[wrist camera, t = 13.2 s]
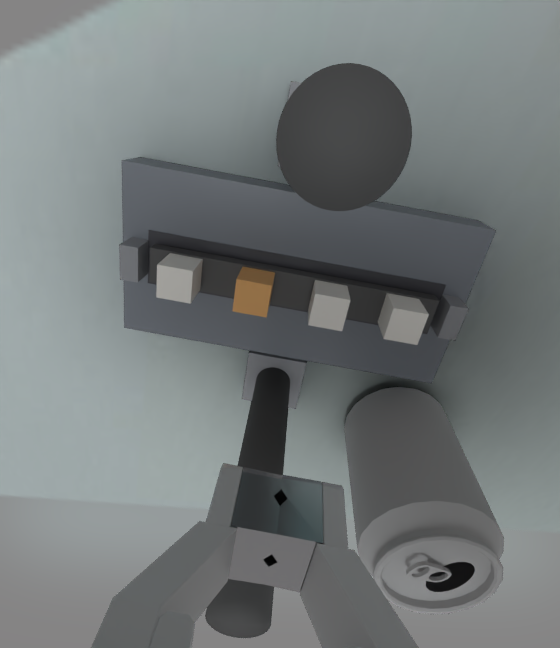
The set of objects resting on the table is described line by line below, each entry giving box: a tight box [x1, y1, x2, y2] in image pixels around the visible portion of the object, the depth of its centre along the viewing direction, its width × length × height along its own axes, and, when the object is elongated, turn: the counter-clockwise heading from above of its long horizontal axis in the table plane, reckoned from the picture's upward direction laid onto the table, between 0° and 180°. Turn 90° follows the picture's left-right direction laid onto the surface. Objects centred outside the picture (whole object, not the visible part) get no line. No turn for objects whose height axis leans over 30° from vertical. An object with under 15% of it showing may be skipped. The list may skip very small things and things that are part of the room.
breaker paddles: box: [149, 244, 439, 345], centre depth 21 cm, size 16×2×3 cm, turn 81°
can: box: [344, 387, 504, 614], centre depth 25 cm, size 8×8×12 cm
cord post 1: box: [205, 351, 307, 638], centre depth 22 cm, size 4×4×16 cm
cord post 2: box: [276, 63, 412, 211], centre depth 14 cm, size 4×4×16 cm
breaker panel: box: [119, 157, 496, 383], centre depth 23 cm, size 20×10×4 cm, turn 80°
